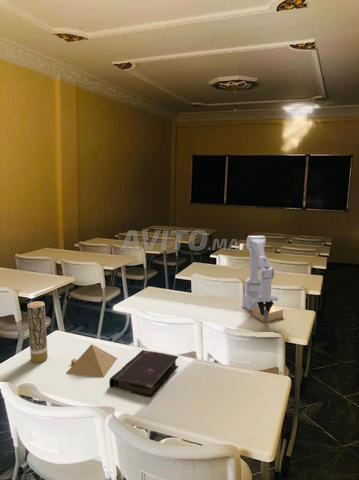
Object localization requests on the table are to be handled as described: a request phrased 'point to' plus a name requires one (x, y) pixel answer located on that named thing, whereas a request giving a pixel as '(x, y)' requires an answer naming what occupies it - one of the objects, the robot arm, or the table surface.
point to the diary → (145, 373)
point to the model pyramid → (92, 363)
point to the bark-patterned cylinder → (37, 331)
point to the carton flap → (259, 316)
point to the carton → (273, 312)
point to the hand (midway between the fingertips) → (264, 314)
